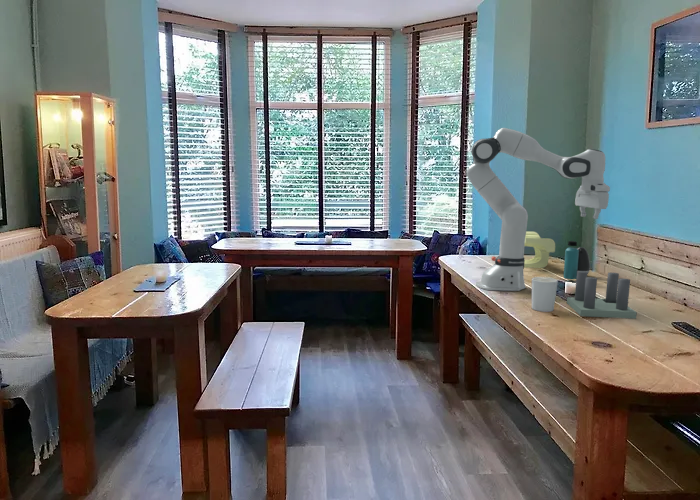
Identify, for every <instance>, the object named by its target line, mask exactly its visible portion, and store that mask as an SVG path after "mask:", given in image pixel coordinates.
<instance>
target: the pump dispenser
mask: <svg viewBox="0 0 700 500" xmlns="http://www.w3.org/2000/svg"><path fill="white" fill-rule="evenodd" d="M576 248H577V249H578V250H579V254H578V270H577V272H578V271H583V272H587V273H588V274H589V272H590V271H591V261H590V255H589V252H588V251H587V249H586V248H585V247H582V246H579V247H576Z"/></svg>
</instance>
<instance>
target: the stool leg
mask: <svg viewBox="0 0 700 500" xmlns="http://www.w3.org/2000/svg"><path fill="white" fill-rule="evenodd" d="M619 276H620V275H619V273H618V272H613V271H612V272H608V273H607V280H606V291H605V299H606V300H605V302H606V303H616V300H617V291H618V280H619V279H620V278H619Z"/></svg>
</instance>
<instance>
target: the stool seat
mask: <svg viewBox="0 0 700 500" xmlns="http://www.w3.org/2000/svg"><path fill="white" fill-rule="evenodd" d="M588 275H589V273H587V272H583V271H578V272H577V277H576V279H575V281H576V282H575V289H574V291H575V292H574V293H575V294H574V296H573V297H572V296H571V297H569V296H568V297H567V298H566V304H567V305H568V306H569V307H570V308H571V309H573V311H575V312H576V313H577V315H579V316H580V317H593V318H598V317H599V318H614V319H615V318H617V319H635V320H636V319H637V311H636V310H634V309H633V308H631V307H630V306H629V297H630V286H631V279H628V278H618V289H617V300H616V303H606V302H605V300H606V298H596V297H597V286H598V285H597V284H598V278H597V277H591V276H588Z"/></svg>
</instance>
